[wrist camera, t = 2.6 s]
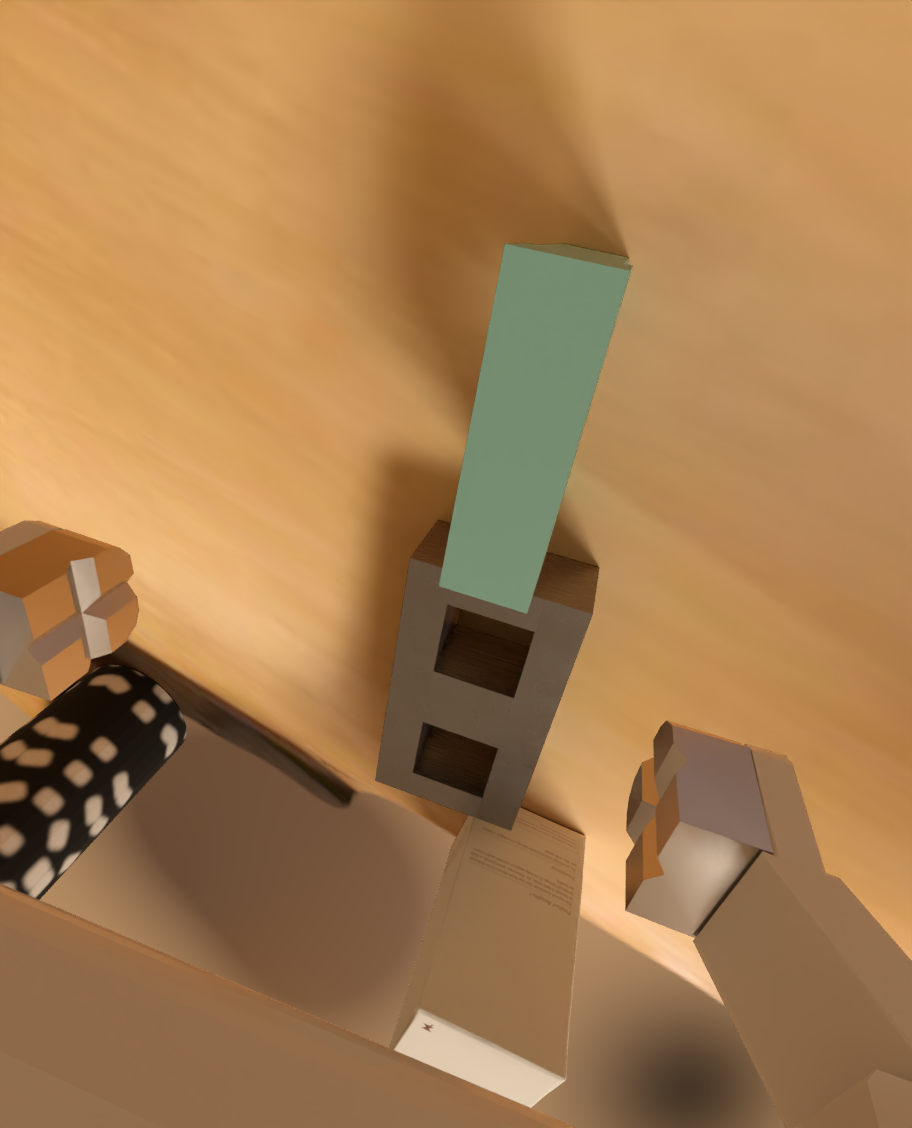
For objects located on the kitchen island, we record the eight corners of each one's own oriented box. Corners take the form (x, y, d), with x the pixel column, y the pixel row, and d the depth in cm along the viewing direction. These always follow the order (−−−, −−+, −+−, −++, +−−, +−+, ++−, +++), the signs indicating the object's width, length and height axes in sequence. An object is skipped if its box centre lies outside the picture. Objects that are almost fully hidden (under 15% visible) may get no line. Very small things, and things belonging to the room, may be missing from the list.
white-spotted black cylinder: (207, 732, 42) (-86, 1060, 25) (150, 762, 46) (-134, 1062, 29) (123, 648, 40) (-255, 942, 23) (71, 687, 44) (-281, 962, 27)
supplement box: (448, 847, 41) (377, 1062, 30) (482, 785, 37) (414, 1009, 26) (546, 893, 40) (510, 1130, 29) (591, 836, 36) (568, 1086, 25)
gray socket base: (599, 567, 27) (592, 614, 24) (524, 774, 35) (511, 831, 32) (438, 519, 28) (409, 557, 25) (400, 730, 36) (375, 780, 33)
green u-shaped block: (636, 258, 21) (629, 271, 13) (561, 505, 26) (527, 613, 19) (555, 241, 21) (504, 243, 14) (497, 487, 27) (438, 586, 19)
